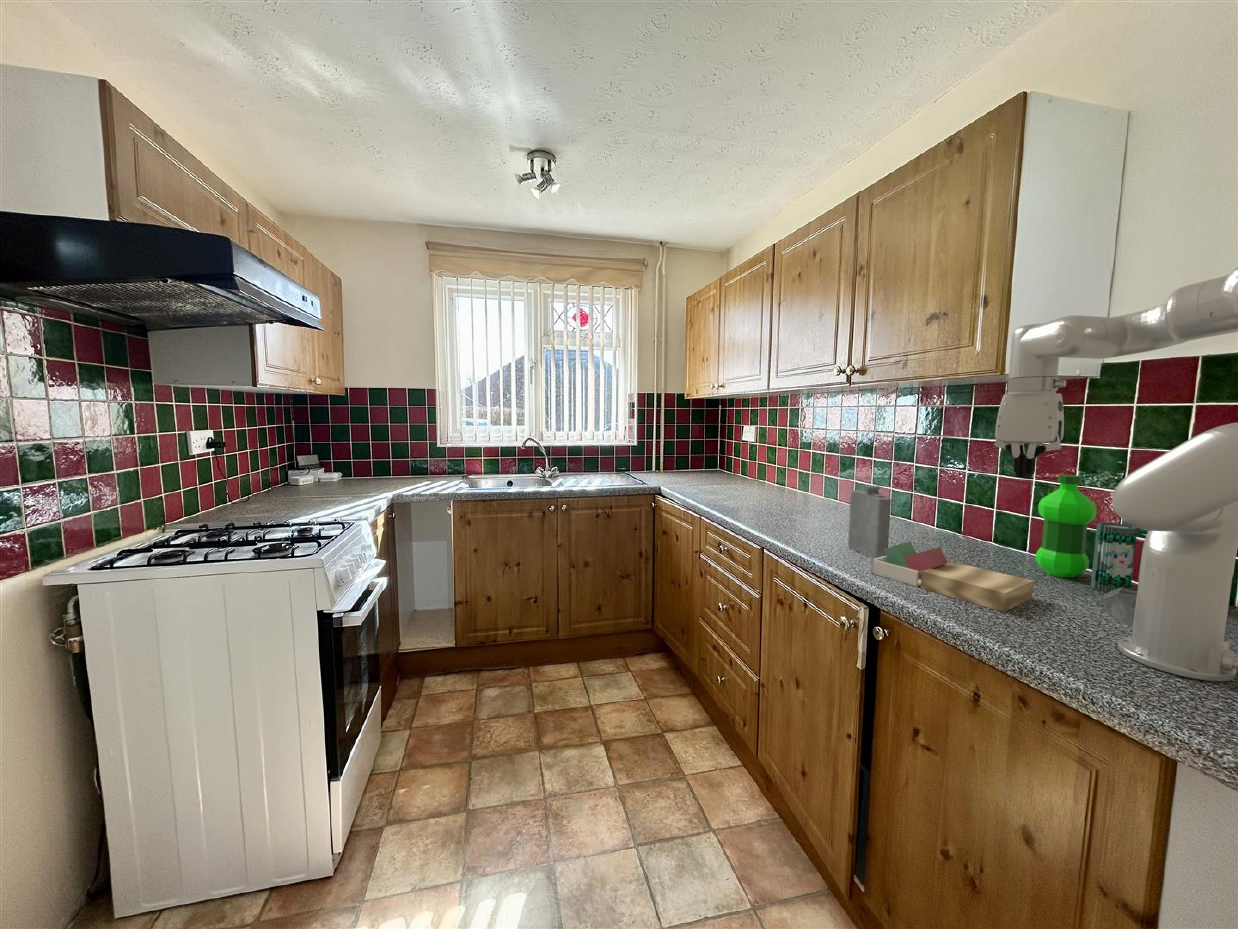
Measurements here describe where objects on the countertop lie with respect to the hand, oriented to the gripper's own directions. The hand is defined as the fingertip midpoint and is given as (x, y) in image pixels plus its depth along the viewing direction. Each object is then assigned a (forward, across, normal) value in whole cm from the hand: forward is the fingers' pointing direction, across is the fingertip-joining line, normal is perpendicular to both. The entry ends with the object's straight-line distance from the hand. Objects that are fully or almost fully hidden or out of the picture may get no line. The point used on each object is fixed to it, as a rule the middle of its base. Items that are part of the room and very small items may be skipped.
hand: (1023, 476), depth 99 cm
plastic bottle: (+27, +2, -33) cm, 43 cm away
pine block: (+27, +7, 0) cm, 28 cm away
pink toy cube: (+24, +17, 0) cm, 29 cm away
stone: (+28, -16, -12) cm, 34 cm away
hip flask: (+27, +37, -8) cm, 47 cm away
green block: (+22, +22, 0) cm, 31 cm away
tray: (+27, +22, 0) cm, 35 cm away
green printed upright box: (+27, -8, -29) cm, 41 cm away
